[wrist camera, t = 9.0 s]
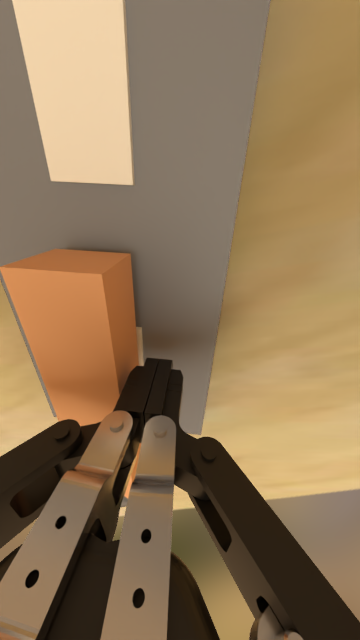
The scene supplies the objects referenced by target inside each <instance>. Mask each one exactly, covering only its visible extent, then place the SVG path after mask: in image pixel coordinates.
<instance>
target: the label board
mask: <svg viewBox="0 0 360 640" xmlns="http://www.w3.org/2000/svg"><path fill="white" fill-rule="evenodd" d="M270 1H271V0H0V267H1V266H4V265H7V264H10V263H13V262H16V261H19V260H22V259H25V258H28V257H32V256H35V255H38V254H41V253H44V252H47V251H50V250H53V249H67V250H83V251H98V252H114V253H129V254H131V266H132V279H133V293H134V307H135V320H136V334H137V348H138V361H139V366H144V363H145V361H146V358H157V359H168V360H173V369H175V370H181V372H182V375H183V392H182V402H181V410H180V419H179V424H180V427H181V428H182V430H183V431H184V432H185V433H190V434H198V435H201V432H202V425H203V419H204V413H205V407H206V400H207V394H208V388H209V382H210V375H211V369H212V363H213V357H214V350H215V344H216V338H217V332H218V325H219V319H220V313H221V307H222V300H223V294H224V288H225V282H226V275H227V269H228V263H229V257H230V251H231V244H232V238H233V232H234V226H235V219H236V213H237V207H238V201H239V194H240V188H241V182H242V176H243V169H244V163H245V157H246V151H247V144H248V138H249V132H250V126H251V119H252V113H253V107H254V101H255V94H256V88H257V82H258V76H259V69H260V63H261V57H262V51H263V44H264V38H265V32H266V26H267V19H268V13H269V7H270ZM0 280H1V282H2V285H3V287H4V290H5V292H6V295H7V297H8V300H9V303H10V305H11V308H12V310H13V313H14V315H15V318H16V321H17V323H18V326H19V328H20V331H21V333H22V336H23V338H24V341H25V344H26V346H27V349H28V351H29V354H30V356H31V359H32V362H33V364H34V367H35V369H36V372H37V374H38V377H39V379H40V382H41V385H42V387H43V390H44V392H45V395H46V397H47V400H48V403H49V405H50V408H51V410H52V413H53V415H54V417H57V415H56V413H55V410H54V408H53V405H52V402H51V400H50V397H49V395H48V392H47V389H46V387H45V384H44V382H43V379H42V377H41V374H40V371H39V369H38V366H37V364H36V361H35V358H34V356H33V353H32V351H31V348H30V346H29V343H28V340H27V338H26V335H25V333H24V330H23V327H22V325H21V322H20V320H19V317H18V315H17V312H16V309H15V307H14V304H13V302H12V299H11V296H10V294H9V291H8V289H7V286H6V284H5V281H4V278H3V276H2V273H1V271H0Z"/></svg>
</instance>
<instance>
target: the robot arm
mask: <svg viewBox="0 0 360 640" xmlns="http://www.w3.org/2000/svg"><path fill="white" fill-rule="evenodd" d="M182 392H183V375H182V372H181V370H175V369H173V360H168V359H157V358H146V361H145V363H144V366H136V367H135V368H134V369H133V370H132V371H131V372H130V374H129V376H128V378H127V381H126V383H125V386H124V387H123V390H122V392H121V394H120V396H119V399H118V401H117V403H116V406H115V408H114V410H113V412H111V413H109V414H108V415H107V416H106V417H105V418H104V419H103V420H102V421H101V422H98V423H95V424H90V425H84V426H80V425H79V423H78V422H77V421H76V420H73V419H66V420H62V421H59V422H57V423H56V424H54V425H52V426H51V427H49V428H47V429H46V430H44V431H42V432H41V433H39V434H37V435H36V436H34V437H32V438H31V439H29V440H27V441H26V442H24V443H22V444H21V445H19V446H17V447H16V448H14V449H12V450H11V451H9V452H7V453H6V454H4V455H3V456H1V457H0V548H2V547H3V546H4V545H5V544H6V543H8V542H9V541H10V540H11V539H12V538H13V537H15V536H16V535H17V534H18V533H20V532H21V531H22V530H23V529H24V528H26V527H27V526H28V525H29V524H30V523H32V522H33V521H34V520H35V519H37V518H38V519H37V521H36V522H35V524H34V526H33V527H32V529H31V531H30V532H29V534H28V536H27V538H26V539H25V541H24V543H23V544H22V545H21V546H19V547H18V548H16V549H15V550H14V551H12V552H11V553H10V554H9V555H8V556H7V557H5V558H4V559H3V560H2V561H1V562H0V640H220V639H219V636H218V634H217V631H216V629H215V626H214V624H213V622H212V619H211V616H210V614H209V612H208V609H207V607H206V604H205V602H204V600H203V597H202V595H201V592H200V589H199V587H198V585H197V582H196V581H195V579H194V577H193V575H192V573H191V572H190V570H189V569H188V567H187V566H186V565H185V564H184V562H183V561H182V560H181V559H180V558H179V557H178V556H177V555H176V554H174V553H173V552H171V533H172V512H173V490H174V485H176V486H178V487H179V488H181V489H183V490H184V491H186V492H188V495H189V497H190V499H191V501H192V502H193V504H194V506H195V508H196V510H197V512H198V513H199V515H200V517H201V519H202V521H203V523H204V524H205V527H206V528H207V530H208V532H209V534H210V536H211V538H212V539H213V541H214V543H215V545H216V547H217V549H218V551H219V552H220V554H221V556H222V558H223V560H224V562H225V564H226V565H227V567H228V569H229V571H230V573H231V575H232V576H233V578H234V580H235V582H236V584H237V586H238V588H239V590H240V591H241V593H242V595H243V597H244V599H245V601H246V602H247V604H248V606H249V608H250V610H251V612H252V614H253V615H254V617H255V621H254V622H253V625H252V627H251V631H250V637H249V640H360V622H359V621H358V620H357V618H356V617H355V616H354V614H353V613H352V612H351V610H350V609H349V608H348V607H347V605H346V604H345V603H344V601H343V600H342V599H341V598H340V596H339V595H338V594H337V592H336V591H335V590H334V589H333V587H332V586H331V585H330V584H329V582H328V581H327V580H326V578H325V577H324V576H323V574H322V573H321V572H320V571H319V569H318V568H317V567H316V566H315V564H314V563H313V562H312V560H311V559H310V558H309V556H308V555H307V554H306V553H305V551H304V550H303V549H302V548H301V546H300V545H299V544H298V542H297V541H296V540H295V538H294V537H293V536H292V535H291V533H290V532H289V531H288V529H287V528H286V527H285V526H284V524H283V523H282V522H281V520H280V519H279V518H278V517H277V515H276V514H275V513H274V511H273V510H272V509H271V508H270V506H269V505H268V504H267V503H266V501H265V500H264V499H263V497H262V496H261V495H260V493H259V492H258V491H257V490H256V488H255V487H254V486H253V484H252V483H251V482H250V481H249V479H248V478H247V477H246V475H245V474H244V473H243V472H242V470H241V469H240V468H239V466H238V465H237V464H236V463H235V461H234V460H233V459H232V457H231V456H230V455H229V454H228V452H227V451H226V450H225V448H224V447H223V446H222V445H221V443H220V442H218V441H217V440H216V439H214V438H211V437H202V438H199V439H196V438H194V437H192V436H190V435H188V434H187V433H185V432H184V431H183V430H182V428H181V427H180V424H179V419H180V410H181V402H182ZM140 443H141V448H140V454H139V459H138V464H137V470H136V475H135V479H134V481H133V482H132V484H131V488H130V492H129V497H128V502H127V507H126V512H125V517H124V522H123V528H122V532H121V537H120V540H117V541H112V540H113V537H114V534H115V531H116V527H117V522H118V517H119V511H120V507H121V503H122V501H123V498H124V495H125V492H126V489H127V486H128V483H129V480H130V477H131V474H132V471H133V468H134V465H135V462H136V458H137V451H138V448H139V444H140Z"/></svg>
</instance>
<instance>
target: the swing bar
mask: <svg viewBox="0 0 360 640" xmlns="http://www.w3.org/2000/svg"><path fill="white" fill-rule="evenodd" d="M0 271H1V273H2V276H3V278H4V281H5V284H6V286H7V289H8V291H9V294H10V296H11V299H12V302H13V304H14V307H15V309H16V312H17V315H18V317H19V320H20V322H21V325H22V327H23V330H24V333H25V335H26V338H27V340H28V343H29V346H30V348H31V351H32V353H33V356H34V358H35V361H36V364H37V366H38V369H39V371H40V374H41V377H42V379H43V382H44V384H45V387H46V389H47V392H48V395H49V397H50V400H51V402H52V405H53V408H54V410H55V413H56V415H57V418H58V420H59V421H62V420H66V419H73V420H76V421H77V422H78V423H79V425H80V426H84V425H90V424H95V423H98V422H101V421H102V420H103V419H104V418H105V417H106V416H107V415H108V414H109V413H111V412H113V410H114V408H115V406H116V403H117V401H118V399H119V396H120V394H121V392H122V390H123V387H124V386H125V383H126V381H127V378H128V376H129V374H130V372H131V371H132V370H133V369H134V368H135V367H136V366H139V361H138V348H137V334H136V320H135V307H134V293H133V279H132V266H131V254H129V253H114V252H98V251H83V250H67V249H53V250H50V251H47V252H44V253H41V254H38V255H35V256H32V257H28V258H25V259H22V260H19V261H16V262H13V263H10V264H7V265H4V266H1V267H0ZM140 448H141V443H140V444H139V448H138V451H137V458H136V462H135V465H134V468H133V471H132V474H131V477H130V480H129V483H128V486H127V489H126V492H125V495H124V498H123V501H122V503H121V507H125V506H127V502H128V497H129V492H130V488H131V484H132V482H133V481H134V479H135V475H136V470H137V464H138V459H139V454H140Z"/></svg>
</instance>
